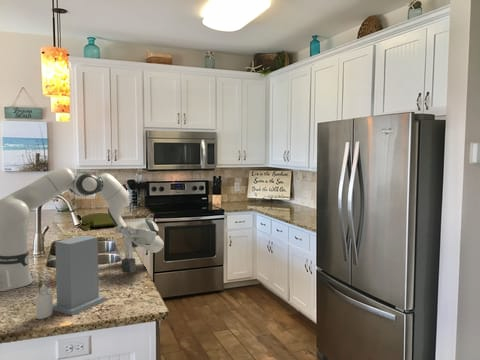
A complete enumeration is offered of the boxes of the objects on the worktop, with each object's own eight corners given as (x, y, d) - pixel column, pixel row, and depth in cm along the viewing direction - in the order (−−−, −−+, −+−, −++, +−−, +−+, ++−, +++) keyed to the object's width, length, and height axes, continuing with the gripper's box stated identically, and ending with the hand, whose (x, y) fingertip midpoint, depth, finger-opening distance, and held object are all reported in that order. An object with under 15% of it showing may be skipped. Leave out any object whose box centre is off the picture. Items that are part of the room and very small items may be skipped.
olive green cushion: (125, 227, 308) (125, 215, 307) (84, 231, 291) (84, 218, 290) (112, 221, 337) (112, 209, 336) (74, 224, 320) (74, 212, 319)
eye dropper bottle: (35, 316, 142) (34, 283, 141) (51, 312, 145) (51, 281, 144) (36, 320, 138) (35, 287, 137) (53, 316, 141) (53, 284, 140)
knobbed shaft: (124, 225, 189) (118, 227, 185) (132, 226, 187) (126, 228, 183) (128, 268, 192) (122, 271, 189) (136, 270, 190) (130, 273, 187)
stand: (84, 295, 162) (82, 233, 160) (105, 300, 157) (104, 237, 155) (50, 309, 148) (48, 241, 146) (72, 315, 142) (70, 245, 140)
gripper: (127, 229, 202) (110, 219, 191) (159, 233, 193) (142, 223, 182) (123, 240, 200) (105, 231, 189) (155, 245, 191) (138, 236, 179)
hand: (124, 227), depth 185 cm, fingers closed on knobbed shaft, 2 cm apart
